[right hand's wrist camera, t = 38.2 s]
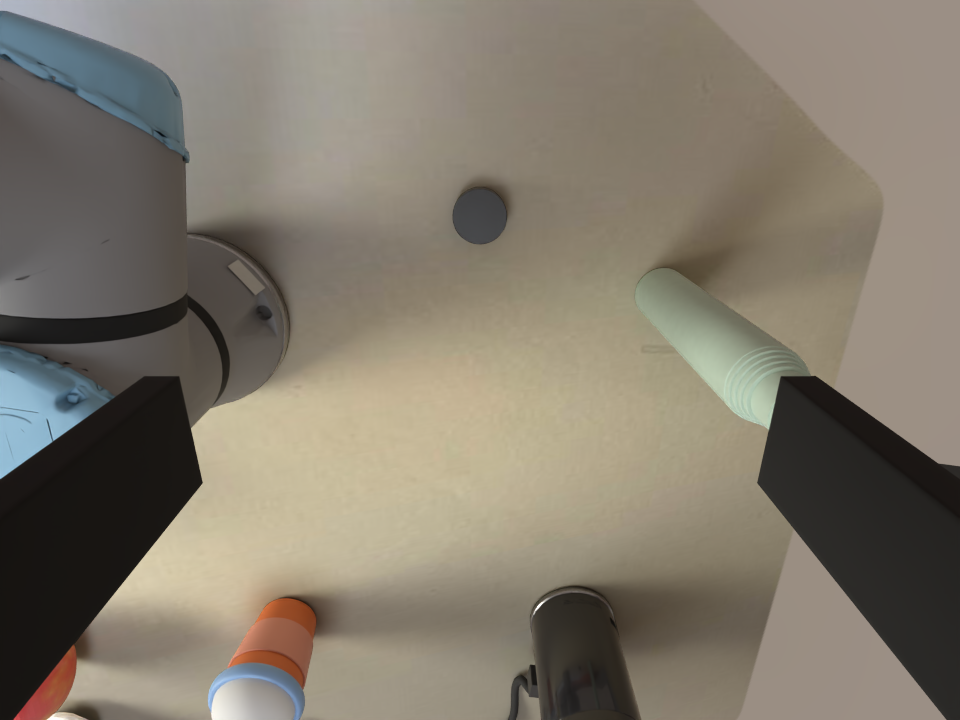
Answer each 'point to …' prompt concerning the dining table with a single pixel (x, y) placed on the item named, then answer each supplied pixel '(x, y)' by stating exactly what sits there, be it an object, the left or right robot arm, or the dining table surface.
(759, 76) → the dining table surface
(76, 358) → the right robot arm
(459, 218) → the cap
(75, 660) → the apple
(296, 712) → the cup with straw
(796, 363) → the bottle
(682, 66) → the dining table surface
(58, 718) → the skull
